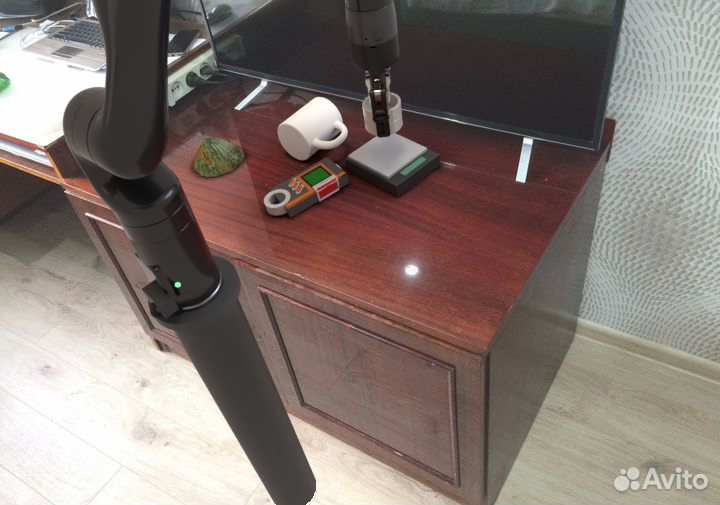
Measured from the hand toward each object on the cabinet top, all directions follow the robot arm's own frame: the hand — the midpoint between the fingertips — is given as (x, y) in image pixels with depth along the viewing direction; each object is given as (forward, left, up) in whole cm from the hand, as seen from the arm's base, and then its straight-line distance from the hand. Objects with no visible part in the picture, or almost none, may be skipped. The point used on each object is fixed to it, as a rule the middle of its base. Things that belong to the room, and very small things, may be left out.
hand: (383, 123), depth 102 cm
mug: (-4, +14, -9) cm, 17 cm away
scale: (0, -1, -9) cm, 9 cm away
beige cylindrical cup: (0, 0, -1) cm, 1 cm away
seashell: (-19, +28, -9) cm, 35 cm away
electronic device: (-15, +6, -9) cm, 18 cm away
